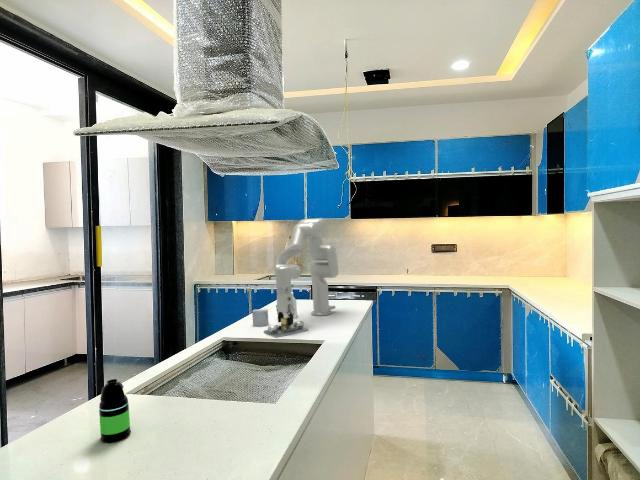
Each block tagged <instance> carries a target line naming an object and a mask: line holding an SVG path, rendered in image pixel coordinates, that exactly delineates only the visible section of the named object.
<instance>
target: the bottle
mask: <svg viewBox="0 0 640 480" xmlns="http://www.w3.org/2000/svg"><path fill="white" fill-rule="evenodd" d="M129 405H130V404H129V399H128V397H127V392H126V389H125V386H124V384H122V382H120V381H118V379H117V378H113V379H108V380H107V381H106V384H105V385H104V386H103V387H102V388H101V394H100V402H99V407H98V409H99V411H98V412H99V426H100V427H99V428H100V429H99V430H100V441H101V442H102V443H104V444H112V443H113V444H114V443H119V442H121V441H124V440H126V439H127V438H128V437H129V436H130V435H131V433H132V430H131V422H130V421H131V419H130V406H129Z"/></svg>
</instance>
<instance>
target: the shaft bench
mask: <svg viewBox="0 0 640 480" xmlns="http://www.w3.org/2000/svg"><path fill="white" fill-rule="evenodd" d="M304 325H305V324H304V321H303V320H299V321H295V322H294V321H293V325H291V328H290V329H285V330H284V331H282V330H281V325H278V324H275V325H271V326H267V330H263V334H265V335H269V336H270V335H271V337H273V338H281V337H285V336H291V335H294V334H295V335H296V334H299V333H304V332H308V331H309V328H308V327H304Z"/></svg>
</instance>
